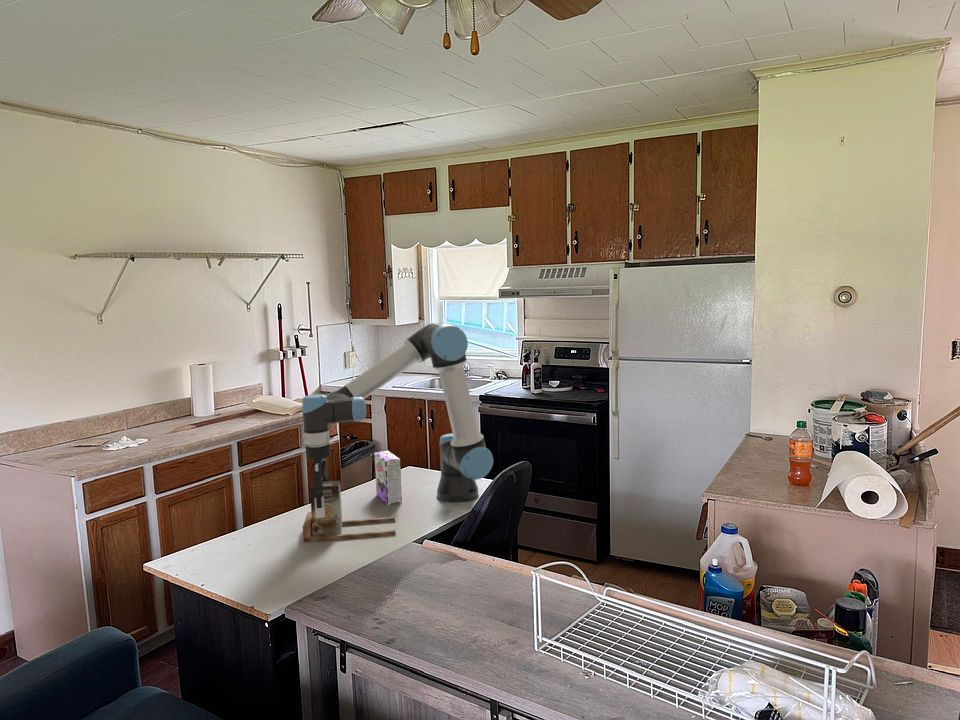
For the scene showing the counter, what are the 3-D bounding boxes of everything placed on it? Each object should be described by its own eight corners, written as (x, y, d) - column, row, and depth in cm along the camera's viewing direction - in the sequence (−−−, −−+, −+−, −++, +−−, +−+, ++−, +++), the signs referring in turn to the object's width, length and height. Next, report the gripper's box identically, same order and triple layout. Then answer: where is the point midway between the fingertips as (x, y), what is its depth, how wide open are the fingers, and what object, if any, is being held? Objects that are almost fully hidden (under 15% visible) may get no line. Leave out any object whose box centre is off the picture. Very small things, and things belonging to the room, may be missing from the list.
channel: (395, 520, 223) (394, 505, 222) (395, 535, 210) (394, 519, 209) (308, 527, 219) (307, 512, 219) (303, 542, 206) (302, 526, 206)
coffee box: (311, 537, 210) (308, 487, 208) (314, 530, 216) (311, 481, 215) (341, 535, 211) (338, 485, 209) (343, 528, 217) (340, 479, 216)
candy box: (375, 495, 251) (373, 452, 249) (391, 492, 253) (389, 449, 251) (386, 505, 238) (384, 460, 236) (402, 503, 241) (400, 458, 239)
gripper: (309, 436, 222) (314, 498, 225) (300, 455, 197) (305, 525, 200) (333, 434, 223) (337, 496, 226) (326, 453, 198) (331, 522, 201)
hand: (322, 510), depth 213 cm, fingers open, 13 cm apart
